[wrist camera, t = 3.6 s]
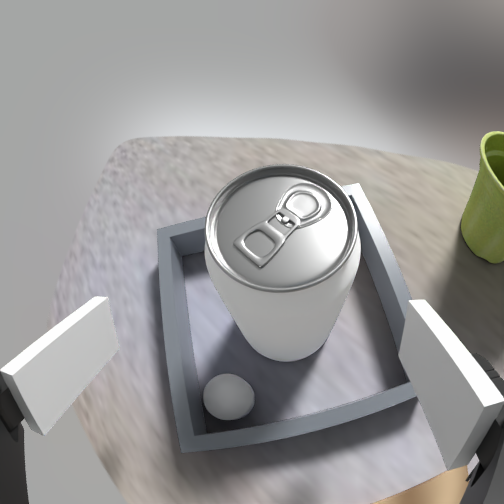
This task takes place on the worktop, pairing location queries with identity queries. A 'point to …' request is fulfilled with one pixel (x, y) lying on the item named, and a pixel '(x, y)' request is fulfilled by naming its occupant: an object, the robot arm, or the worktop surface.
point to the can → (283, 256)
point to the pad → (434, 490)
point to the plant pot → (487, 203)
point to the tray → (235, 388)
